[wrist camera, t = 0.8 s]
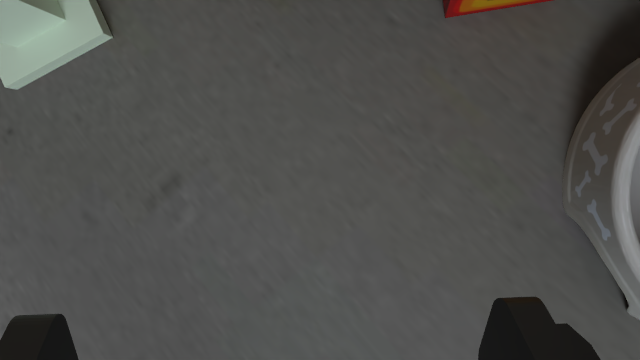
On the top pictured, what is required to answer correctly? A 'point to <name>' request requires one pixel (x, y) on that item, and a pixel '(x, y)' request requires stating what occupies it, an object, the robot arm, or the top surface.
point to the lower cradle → (46, 36)
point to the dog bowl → (609, 179)
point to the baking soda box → (480, 5)
